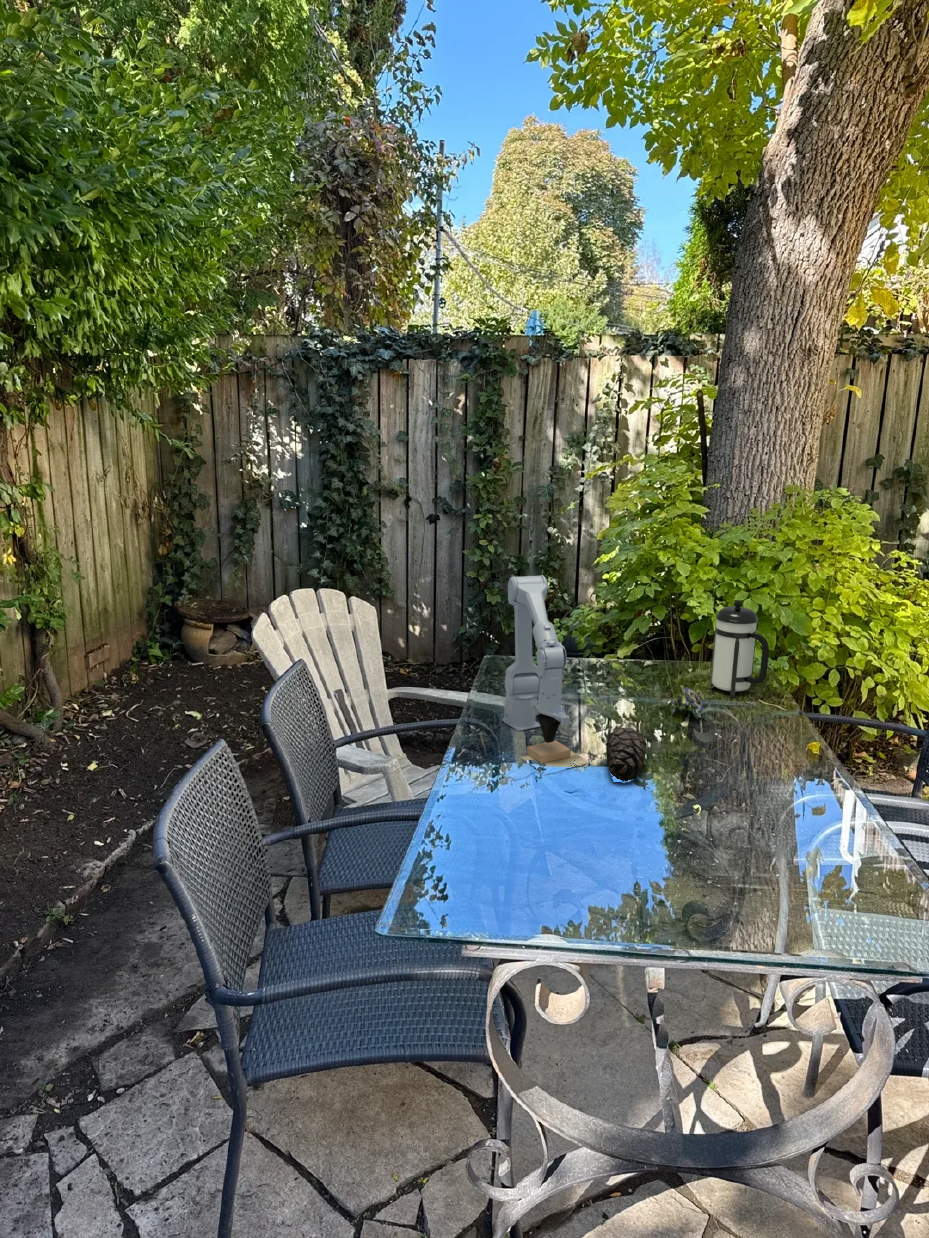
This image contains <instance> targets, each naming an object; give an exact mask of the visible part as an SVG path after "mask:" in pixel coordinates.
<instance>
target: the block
mask: <svg viewBox="0 0 929 1238" xmlns="http://www.w3.org/2000/svg"><path fill="white" fill-rule="evenodd" d="M571 751H572V750H571V748H569V747H567V746H566V745H564V744H562V742H559V741H558V740H556V739H554V741H553V742H549V743H546V742H545V741H544V742H542V743H537V744H531V745H527V746H526V755H527V756H529V755H530V756H531V757H533V758H534V759H536V760H537V761H538V762H540V763H541V764H542V763H546V762H551V761H555V760H559V759H563V758H567V757H571Z"/></svg>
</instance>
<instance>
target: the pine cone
mask: <svg viewBox="0 0 929 1238" xmlns="http://www.w3.org/2000/svg"><path fill="white" fill-rule="evenodd" d="M647 748H648V743H647V742H646V739H645V737H644V735H643V733H641V732H639V731H638V730H635V729H634V728H632V727H618V728H617V729H615V730H613V731H612V732H610V734H609V736H608V738H607V741H606V743H605V750H606V751H605V754H606V761H607V763H606V764H607V765H608V772H609V771H610V772H609V774H610V773H611V774H612V775H613V776H615V777H616V778H617V779H620V780H625V781H628V780H630V779H635V780H637V778H638V777H637V776H639V775H640V773H641V771H642V766H643V765H644V763H645V760H646V758H645V757H646V753H647ZM638 774H639V775H638Z"/></svg>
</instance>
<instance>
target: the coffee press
mask: <svg viewBox="0 0 929 1238" xmlns="http://www.w3.org/2000/svg"><path fill="white" fill-rule="evenodd" d="M733 605H734V606H725V607H723V608H721V609H719V610H718V612H717V613H716V614H715V619H716V623H715V624H716V625H715V629H714V640H713V650H712V662H711V672H710V673H711V674H710V675H711V676H710V681H709V682H708V683H707V684H706V689H707V690H708V688H709V686H710V684H712V686H710V687H711V689H710V690H712V689H713V688H715V687H716V688H717V689H720V690H721V691H722V690H723V691H727V692H729V697H730V698H732V699H733V698H735V697H736V692H743V691H749V692H750V693H751V694H753V693H755V687H754V686H753V685H757V684H761V683H763V682H764V681H765V680H766V677H767V672H768V665H769V653H770V647H769V643H768V640H767V638H766V637H764V636H763V635H761V634H760V633H757V630H758V629H757V623H758V621H759V617H758V616H757V613H756V612H755V610H752V609H750V608H747V607H743V603H742V601H740V600H735V602H734V604H733ZM756 641H758V642H759V643H760V645H761V660H760V669H759V670H760V671H759V675H758V677H757V678H755V677H753V672H754V671H753V670H754V661H755V650H756ZM707 687H708V688H707ZM750 687H752V689H753V690H750V689H749V688H750Z"/></svg>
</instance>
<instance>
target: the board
mask: <svg viewBox="0 0 929 1238" xmlns="http://www.w3.org/2000/svg"><path fill="white" fill-rule="evenodd" d="M521 758H522V759H524V760H536V759H534V758H533V757H531V756H530V755H525V756H521V757H520V759H521ZM522 759H521V760H522ZM574 760H575V761H574ZM576 761H577V762H576ZM569 762H570V763H571V764H570V763H569ZM575 762H576V763H577V764H576V763H575ZM573 763H574V764H573ZM588 763H590V761H588V760H587V759H585V758H583V757H582V756H580V755H579V754H577V753H575V752H574V751H572V750H571V757H567V758H563V759H559V760H555V761H551V762H546V763H545V764H546V766H547V767H549V766H551V765H552V766H551V767H553V766H554V767H575V766H576V765H577V766H579V765H583V766H585V765H584V764H587V765H589V764H588ZM569 764H570V765H572V764H573V765H572V766H570V765H569ZM575 764H576V765H575ZM590 764H591V763H590ZM555 765H556V766H555ZM574 765H575V766H574ZM579 767H580V766H579ZM575 768H576V767H575Z"/></svg>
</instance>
